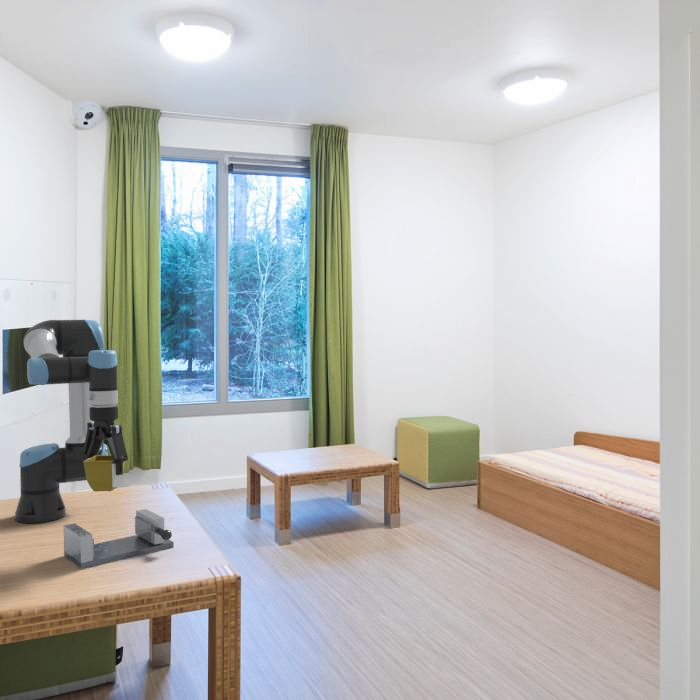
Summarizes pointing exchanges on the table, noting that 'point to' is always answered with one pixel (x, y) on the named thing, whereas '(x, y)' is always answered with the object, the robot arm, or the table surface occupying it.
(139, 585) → the table surface
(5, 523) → the table surface
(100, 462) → the flower pot
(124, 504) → the table surface
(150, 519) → the block
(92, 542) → the vise base
